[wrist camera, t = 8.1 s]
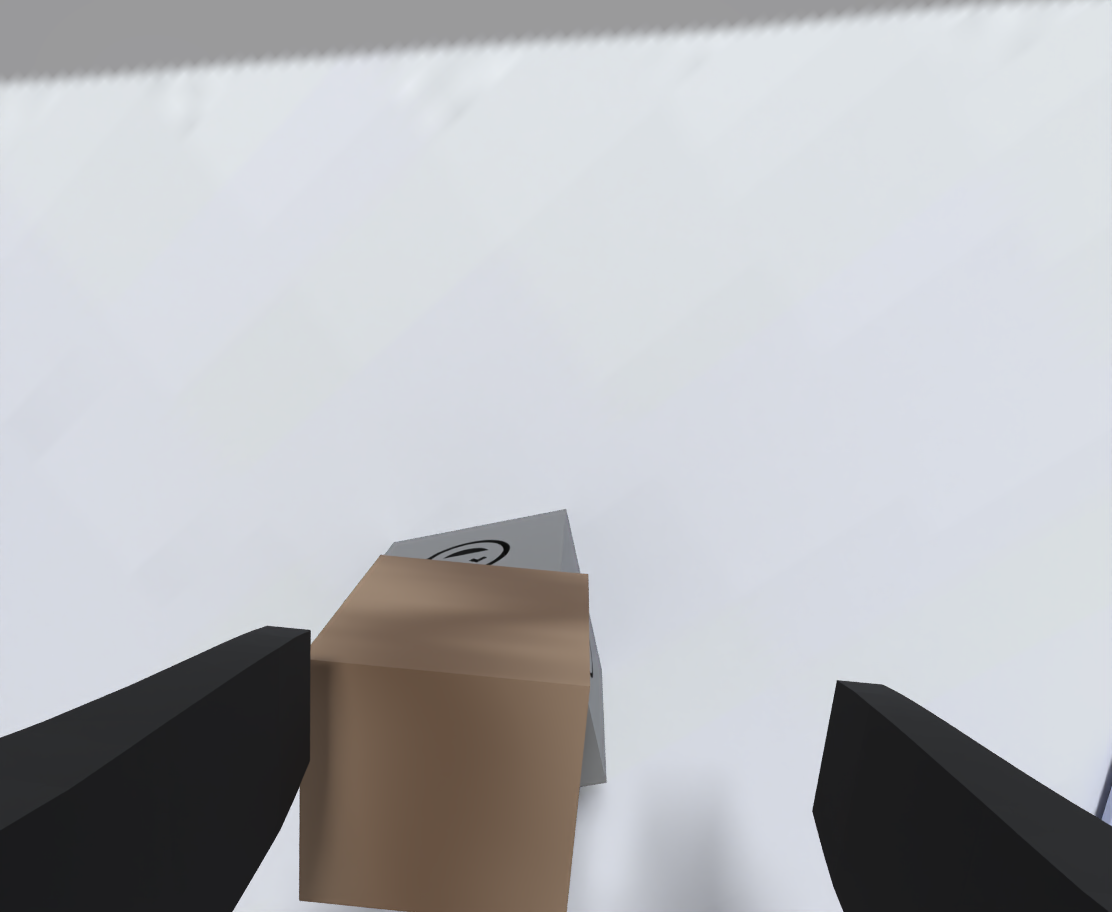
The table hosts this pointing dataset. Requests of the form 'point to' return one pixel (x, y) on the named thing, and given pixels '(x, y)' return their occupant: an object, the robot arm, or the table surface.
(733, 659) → the table surface
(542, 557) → the dice cube
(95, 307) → the table surface
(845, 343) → the table surface
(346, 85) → the table surface
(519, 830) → the walnut block
